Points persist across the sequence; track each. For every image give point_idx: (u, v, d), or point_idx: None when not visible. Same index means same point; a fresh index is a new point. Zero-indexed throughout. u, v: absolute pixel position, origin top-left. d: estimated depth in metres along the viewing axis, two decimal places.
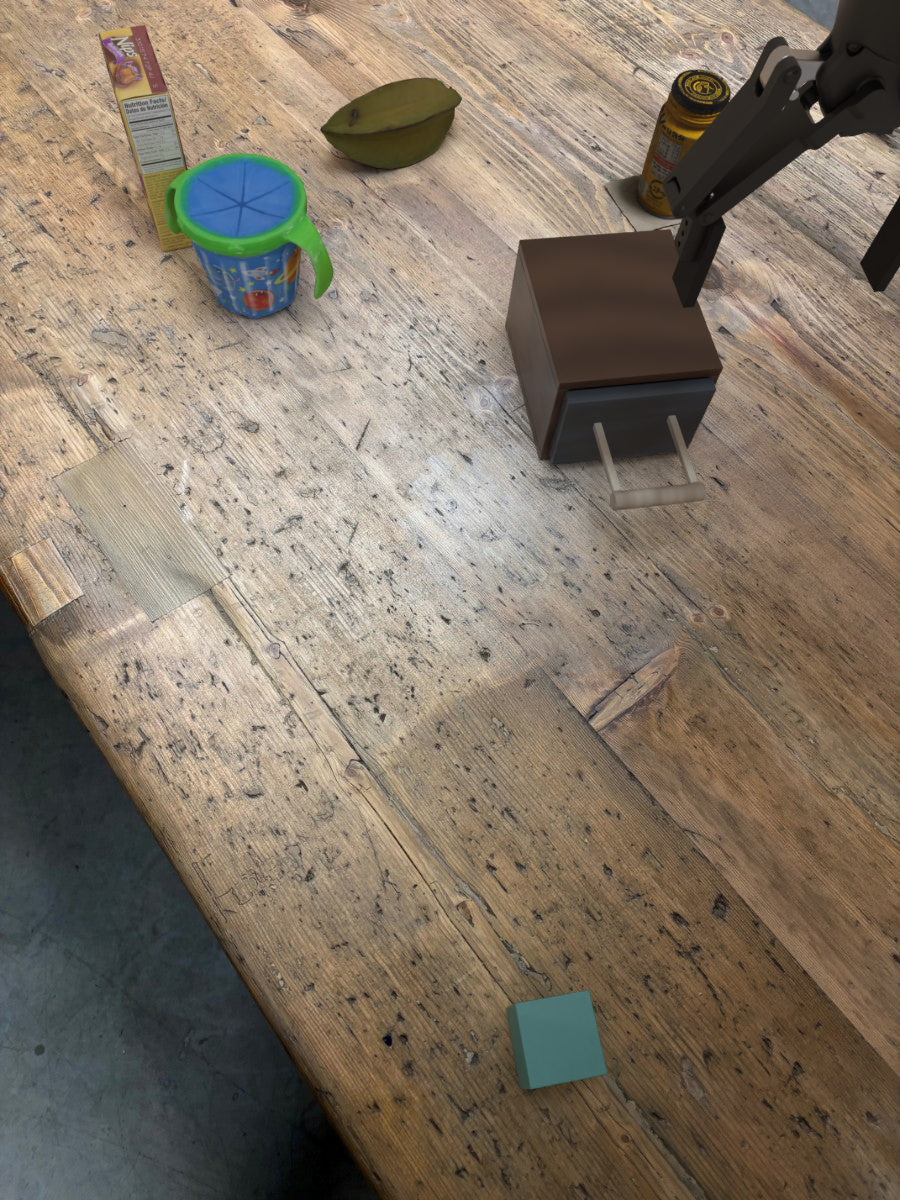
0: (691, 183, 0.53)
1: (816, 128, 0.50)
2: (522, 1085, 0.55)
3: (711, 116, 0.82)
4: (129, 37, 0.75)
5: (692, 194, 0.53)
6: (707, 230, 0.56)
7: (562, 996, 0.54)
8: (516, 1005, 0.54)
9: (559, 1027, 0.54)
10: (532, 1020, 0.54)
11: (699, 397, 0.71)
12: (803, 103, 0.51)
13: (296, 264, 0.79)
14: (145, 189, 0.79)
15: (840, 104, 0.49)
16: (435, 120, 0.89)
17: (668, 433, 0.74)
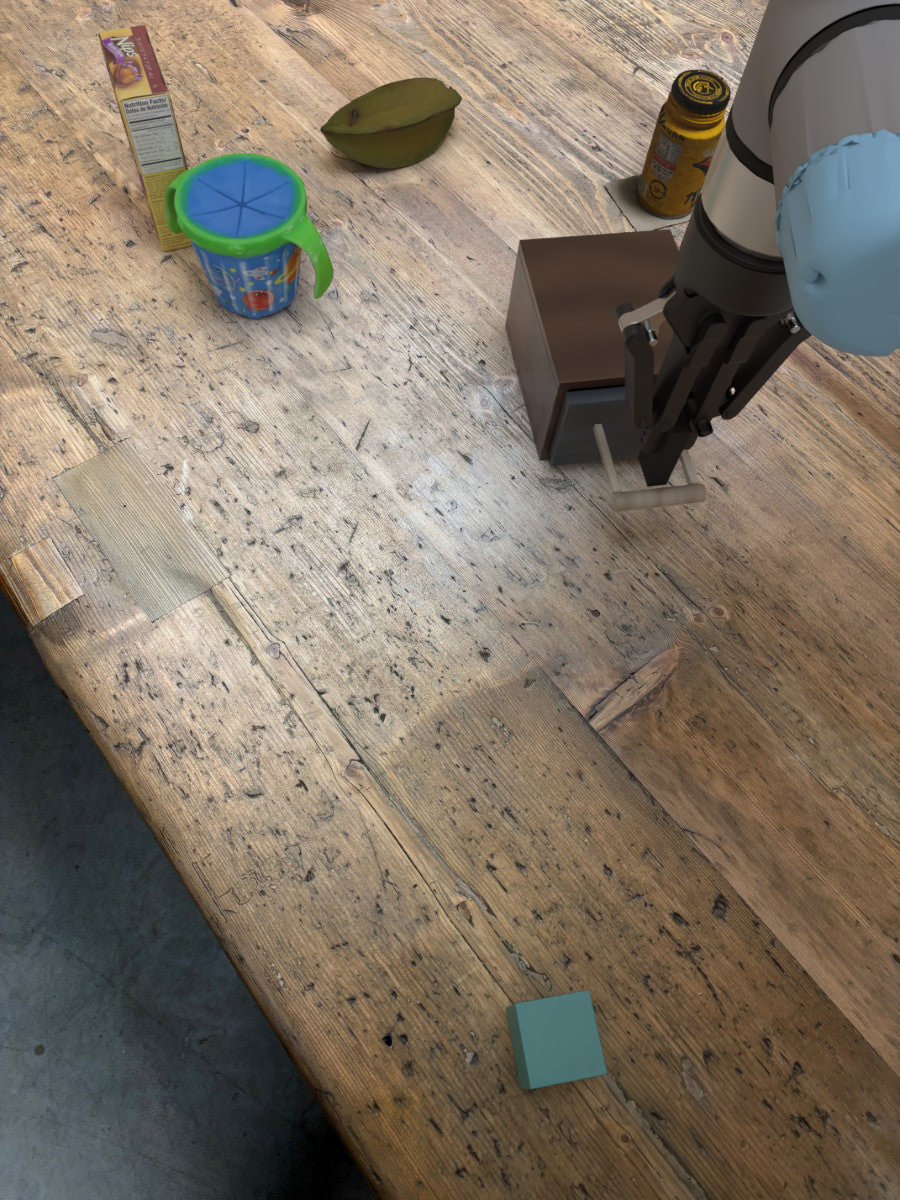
0: (632, 408, 0.61)
1: (689, 359, 0.56)
2: (522, 1085, 0.55)
3: (711, 116, 0.82)
4: (129, 37, 0.75)
5: (638, 414, 0.61)
6: (665, 433, 0.64)
7: (562, 996, 0.54)
8: (516, 1005, 0.54)
9: (559, 1027, 0.54)
10: (532, 1020, 0.54)
11: None
12: None
13: (296, 264, 0.79)
14: (145, 189, 0.79)
15: (695, 339, 0.55)
16: (435, 120, 0.89)
17: None
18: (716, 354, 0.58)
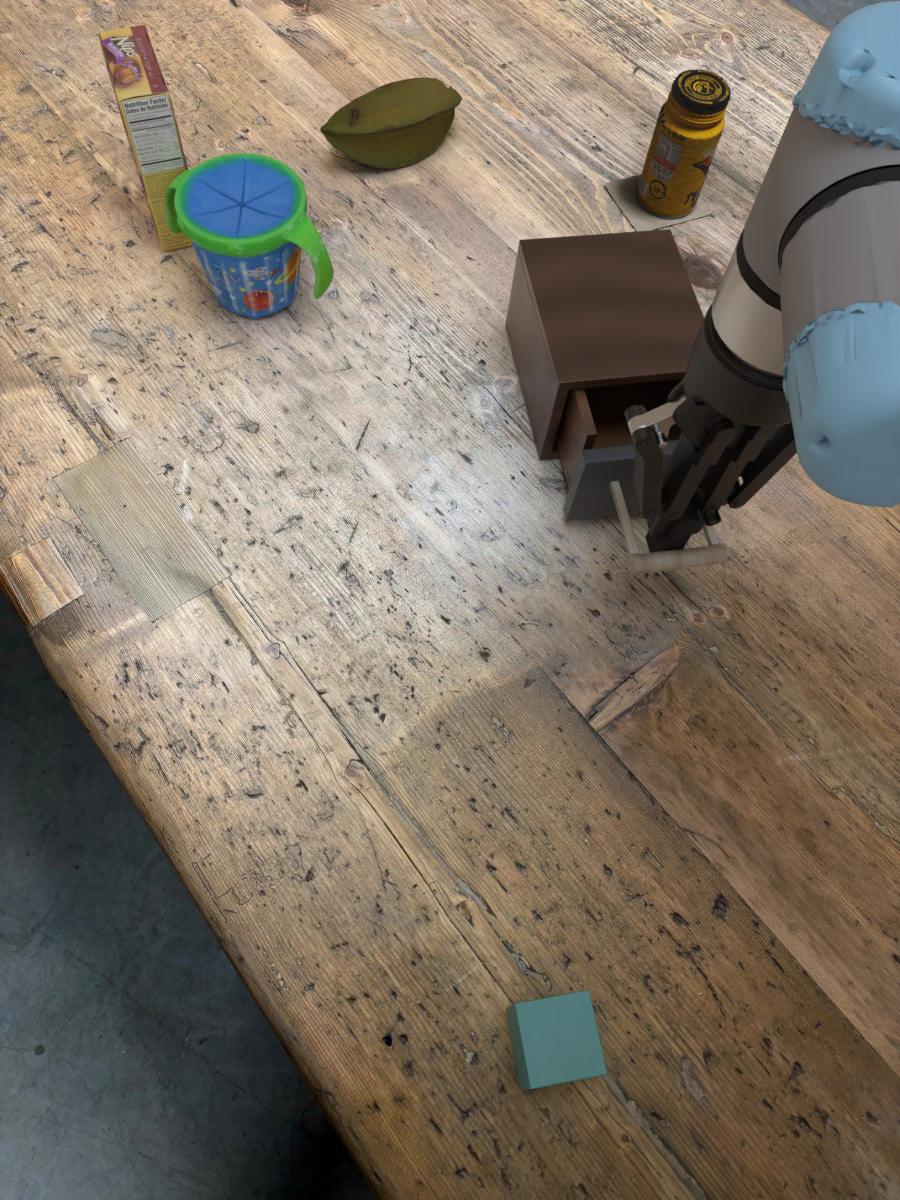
0: (641, 501, 0.61)
1: (698, 459, 0.56)
2: (522, 1085, 0.55)
3: (711, 116, 0.82)
4: (129, 37, 0.75)
5: (647, 506, 0.61)
6: (673, 520, 0.64)
7: (562, 996, 0.54)
8: (516, 1005, 0.54)
9: (559, 1027, 0.54)
10: (532, 1020, 0.54)
11: None
12: None
13: (296, 264, 0.79)
14: (145, 189, 0.79)
15: (705, 441, 0.55)
16: (435, 120, 0.89)
17: None
18: (724, 450, 0.59)
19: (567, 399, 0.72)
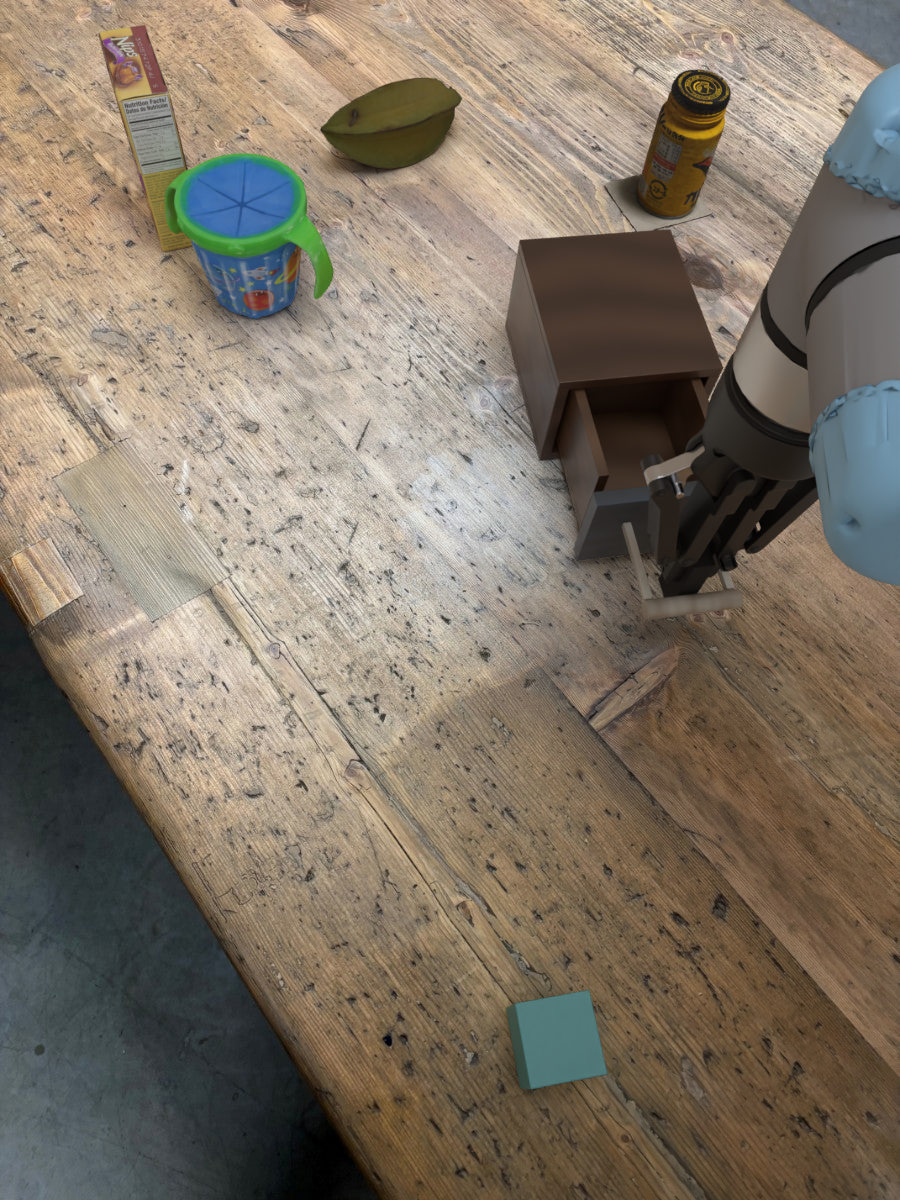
0: (656, 548, 0.59)
1: (716, 508, 0.55)
2: (522, 1085, 0.55)
3: (711, 116, 0.82)
4: (129, 37, 0.75)
5: (662, 553, 0.60)
6: (688, 565, 0.63)
7: (562, 996, 0.54)
8: (516, 1005, 0.54)
9: (559, 1027, 0.54)
10: (532, 1020, 0.54)
11: None
12: None
13: (296, 264, 0.79)
14: (145, 189, 0.79)
15: (723, 491, 0.54)
16: (435, 120, 0.89)
17: None
18: None
19: (578, 437, 0.70)
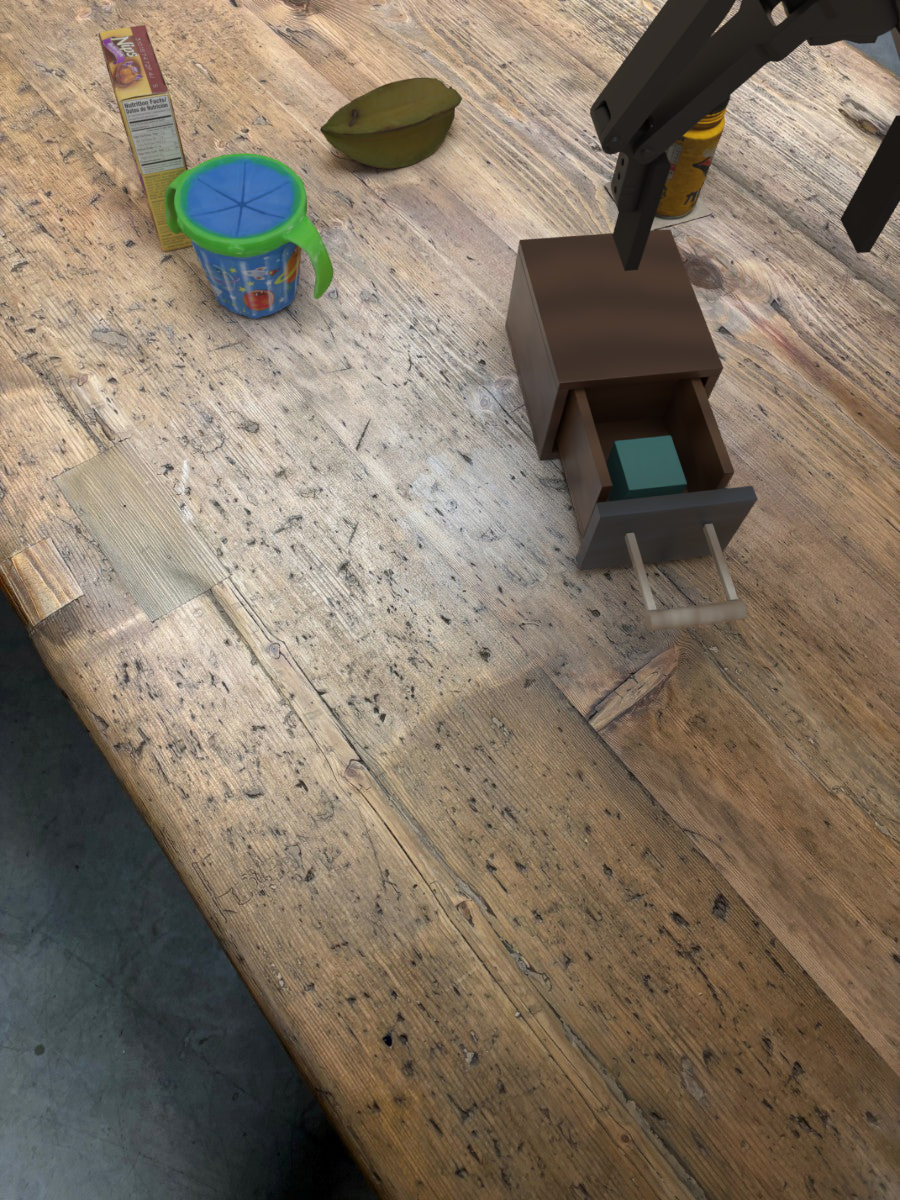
0: (623, 106, 0.42)
1: (778, 31, 0.39)
2: None
3: (711, 116, 0.82)
4: (129, 37, 0.75)
5: (625, 121, 0.42)
6: (648, 171, 0.45)
7: (650, 438, 0.71)
8: (615, 442, 0.70)
9: (649, 455, 0.70)
10: (628, 451, 0.70)
11: (738, 507, 0.66)
12: (762, 3, 0.41)
13: (296, 264, 0.79)
14: (145, 189, 0.79)
15: None
16: (435, 120, 0.89)
17: (704, 539, 0.70)
18: None
19: (580, 447, 0.70)
